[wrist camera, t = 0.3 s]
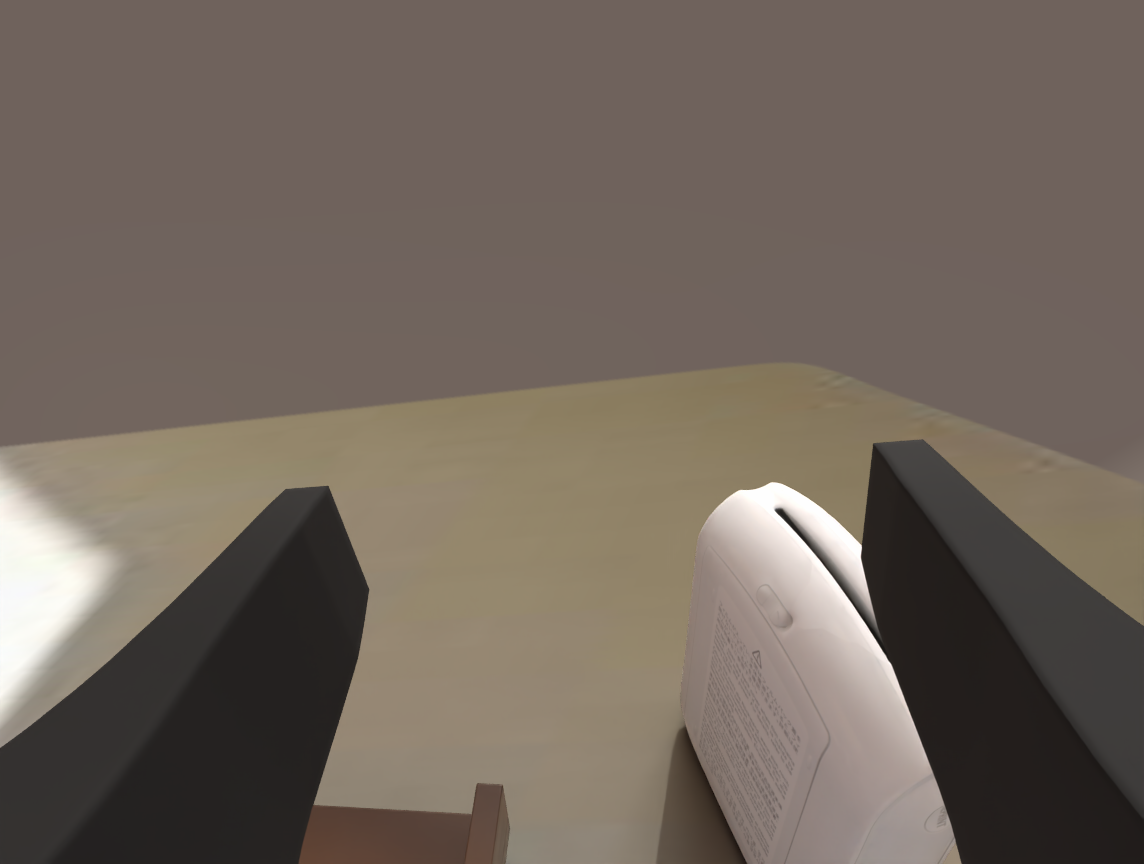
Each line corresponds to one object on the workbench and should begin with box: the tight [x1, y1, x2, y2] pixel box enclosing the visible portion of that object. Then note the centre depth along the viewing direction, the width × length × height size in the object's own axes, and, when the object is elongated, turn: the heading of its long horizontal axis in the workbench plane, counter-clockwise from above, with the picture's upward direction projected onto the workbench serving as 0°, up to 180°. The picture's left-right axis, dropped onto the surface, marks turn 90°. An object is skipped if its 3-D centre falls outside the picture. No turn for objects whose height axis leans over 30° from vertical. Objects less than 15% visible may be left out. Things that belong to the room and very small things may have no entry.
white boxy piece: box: [680, 482, 956, 864], centre depth 25 cm, size 10×4×12 cm, turn 18°
